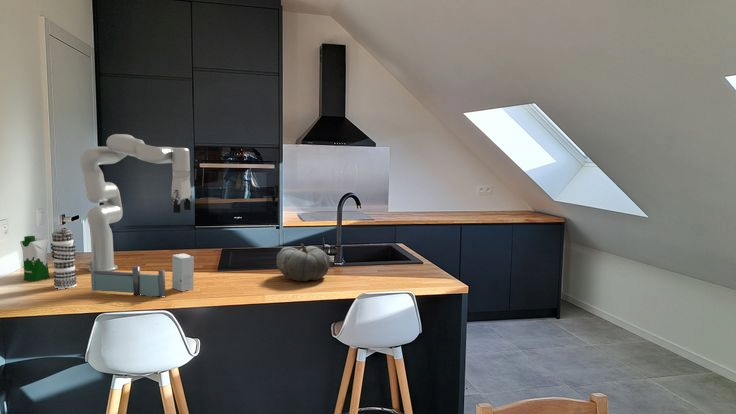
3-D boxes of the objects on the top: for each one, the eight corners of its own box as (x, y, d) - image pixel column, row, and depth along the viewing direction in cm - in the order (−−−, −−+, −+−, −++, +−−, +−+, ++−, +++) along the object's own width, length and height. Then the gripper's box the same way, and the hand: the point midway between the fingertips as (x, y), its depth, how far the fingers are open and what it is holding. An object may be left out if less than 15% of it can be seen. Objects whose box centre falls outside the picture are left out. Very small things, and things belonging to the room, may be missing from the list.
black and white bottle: (51, 285, 222) (48, 229, 219) (76, 282, 228) (72, 227, 225) (54, 290, 215) (50, 232, 212) (79, 287, 221) (76, 230, 217)
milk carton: (20, 280, 230) (17, 236, 227) (39, 275, 238) (36, 233, 236) (34, 282, 227) (31, 238, 224) (53, 277, 235) (50, 234, 233)
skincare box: (171, 288, 221) (170, 254, 219) (184, 285, 226) (183, 252, 224) (182, 292, 216) (181, 258, 214) (195, 289, 220) (194, 255, 218)
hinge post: (132, 295, 210) (130, 267, 208) (136, 293, 213) (134, 265, 211) (138, 296, 210) (137, 267, 208) (142, 294, 212) (141, 266, 211)
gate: (134, 291, 212) (133, 272, 211) (131, 292, 210) (131, 273, 209) (94, 289, 215) (93, 269, 214) (91, 290, 213) (90, 270, 212)
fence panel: (139, 296, 210) (138, 270, 208) (143, 294, 212) (142, 268, 211) (163, 297, 208) (162, 271, 207) (166, 296, 210) (165, 270, 209)
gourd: (263, 273, 238) (270, 237, 237) (300, 271, 258) (307, 238, 257) (300, 288, 223) (308, 250, 222) (337, 285, 243) (344, 250, 242)
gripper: (183, 173, 244) (184, 208, 247) (163, 175, 227) (165, 213, 230) (197, 173, 243) (198, 209, 246) (179, 176, 226) (180, 214, 229)
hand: (182, 211), depth 238 cm, fingers open, 9 cm apart
